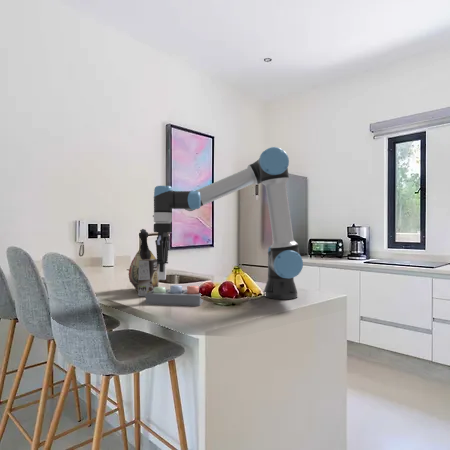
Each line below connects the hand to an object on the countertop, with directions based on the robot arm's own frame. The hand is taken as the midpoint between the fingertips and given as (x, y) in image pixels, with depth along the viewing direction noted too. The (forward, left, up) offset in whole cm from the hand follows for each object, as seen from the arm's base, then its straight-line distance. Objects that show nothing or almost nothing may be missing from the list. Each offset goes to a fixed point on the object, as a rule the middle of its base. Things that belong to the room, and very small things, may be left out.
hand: (162, 279), depth 148 cm
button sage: (+1, 0, -7) cm, 7 cm away
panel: (-6, 0, -9) cm, 11 cm away
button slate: (-6, 0, -7) cm, 9 cm away
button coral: (-13, 0, -7) cm, 15 cm away
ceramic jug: (+15, -23, -9) cm, 29 cm away
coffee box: (+10, -13, -9) cm, 19 cm away
